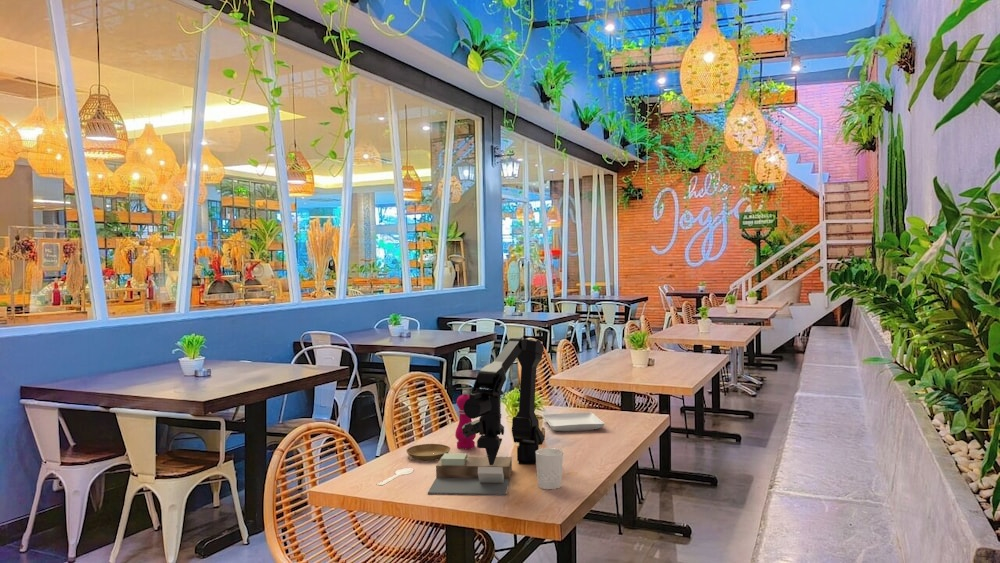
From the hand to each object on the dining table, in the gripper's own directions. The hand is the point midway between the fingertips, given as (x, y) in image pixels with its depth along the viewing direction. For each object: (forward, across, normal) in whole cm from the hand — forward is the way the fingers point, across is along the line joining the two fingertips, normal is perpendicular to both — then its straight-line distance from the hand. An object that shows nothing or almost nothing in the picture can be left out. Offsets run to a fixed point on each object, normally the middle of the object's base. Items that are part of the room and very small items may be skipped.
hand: (491, 464), depth 202 cm
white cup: (+5, +3, +17) cm, 18 cm away
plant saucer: (+5, -26, -24) cm, 35 cm away
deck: (+5, -7, -6) cm, 10 cm away
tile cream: (+1, +4, 0) cm, 4 cm away
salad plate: (+5, -70, +25) cm, 74 cm away
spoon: (+6, -3, -30) cm, 31 cm away
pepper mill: (+5, -38, -13) cm, 40 cm away
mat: (+5, +5, -6) cm, 9 cm away
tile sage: (+1, -5, -12) cm, 13 cm away
